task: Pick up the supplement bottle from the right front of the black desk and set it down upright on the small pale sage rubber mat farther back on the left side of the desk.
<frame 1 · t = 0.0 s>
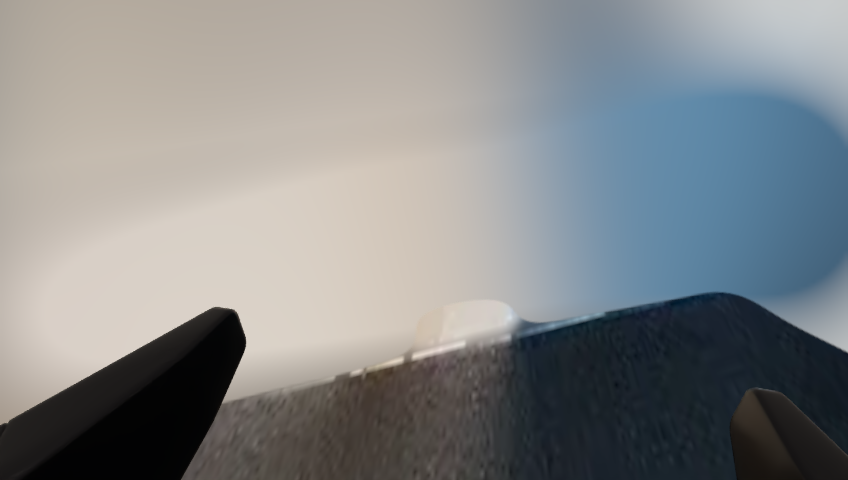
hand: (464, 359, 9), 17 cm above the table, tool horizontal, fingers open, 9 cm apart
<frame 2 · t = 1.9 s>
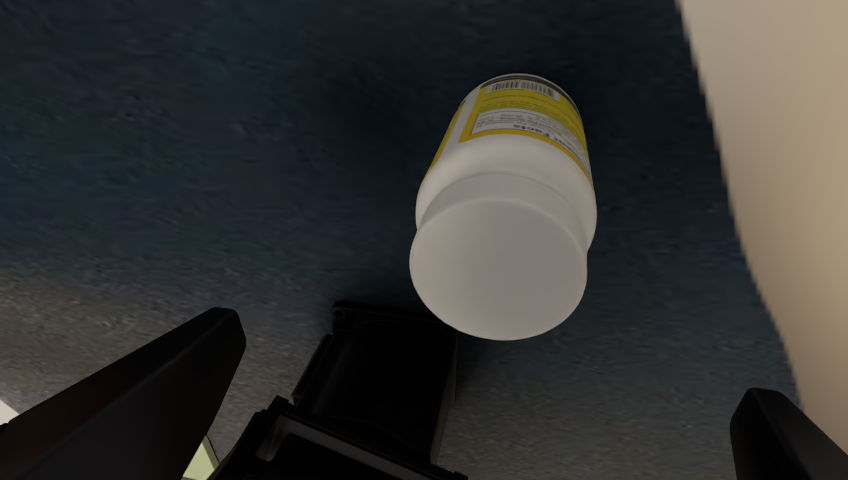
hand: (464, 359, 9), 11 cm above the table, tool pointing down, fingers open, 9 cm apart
mat: (166, 439, 37), on the table
supplement bottle: (516, 134, 18), on the table
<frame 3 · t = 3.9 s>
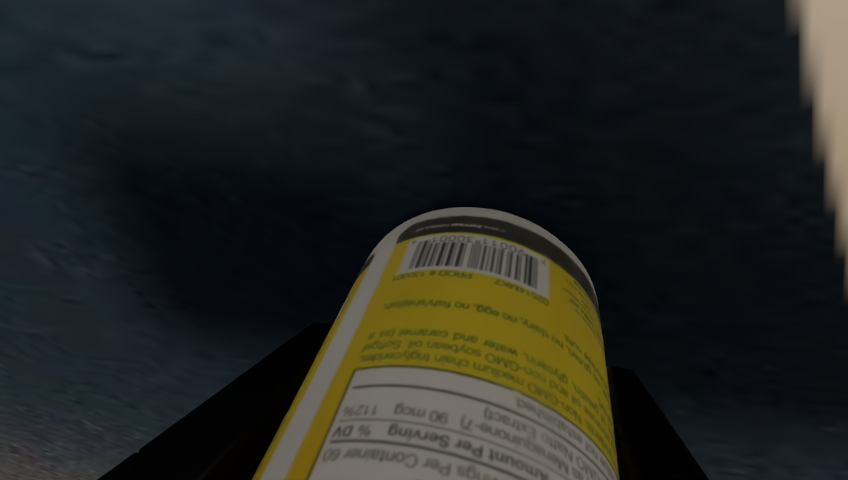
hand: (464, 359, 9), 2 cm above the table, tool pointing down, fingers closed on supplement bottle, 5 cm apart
supplement bottle: (477, 293, 10), on the table, touching gripper
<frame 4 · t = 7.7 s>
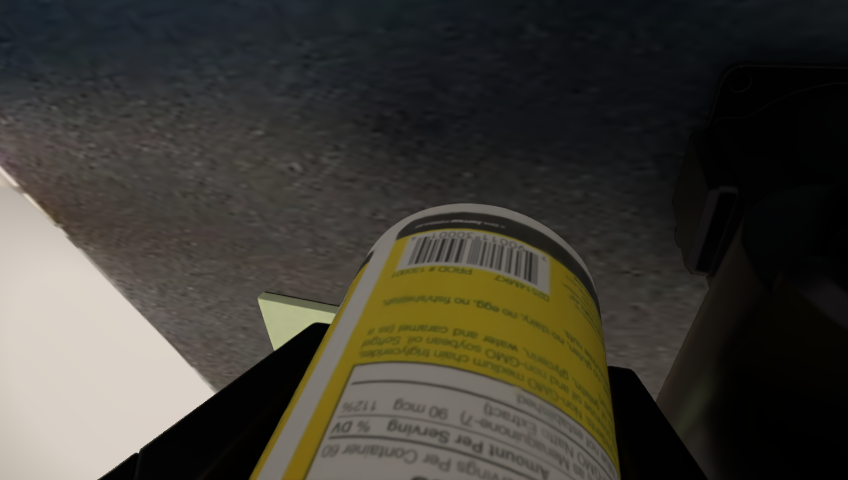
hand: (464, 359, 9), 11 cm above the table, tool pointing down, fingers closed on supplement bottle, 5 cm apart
mat: (336, 354, 28), on the table
supplement bottle: (477, 290, 10), point 9 cm above the table, touching gripper
when the fingers open (2 cm above the table, at t = 11.8 s): supplement bottle stays where it is, resting on mat.
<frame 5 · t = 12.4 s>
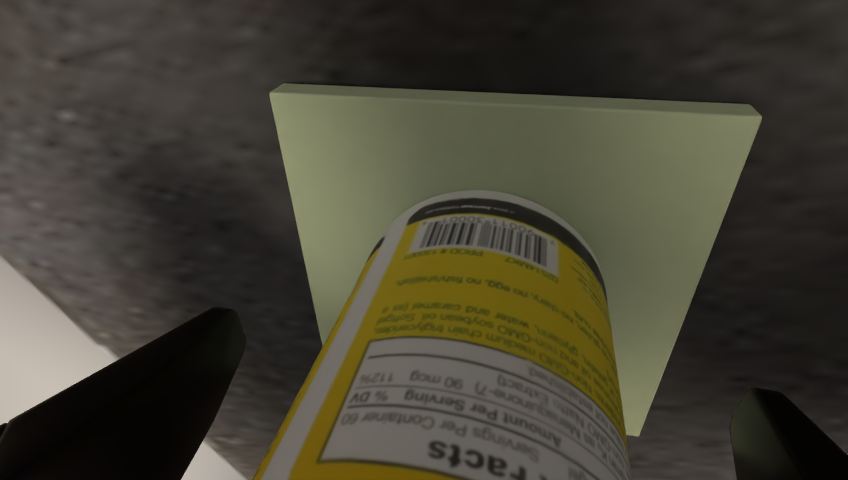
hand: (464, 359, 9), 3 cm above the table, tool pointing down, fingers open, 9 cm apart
mat: (484, 272, 11), on the table
supplement bottle: (485, 278, 10), resting on mat
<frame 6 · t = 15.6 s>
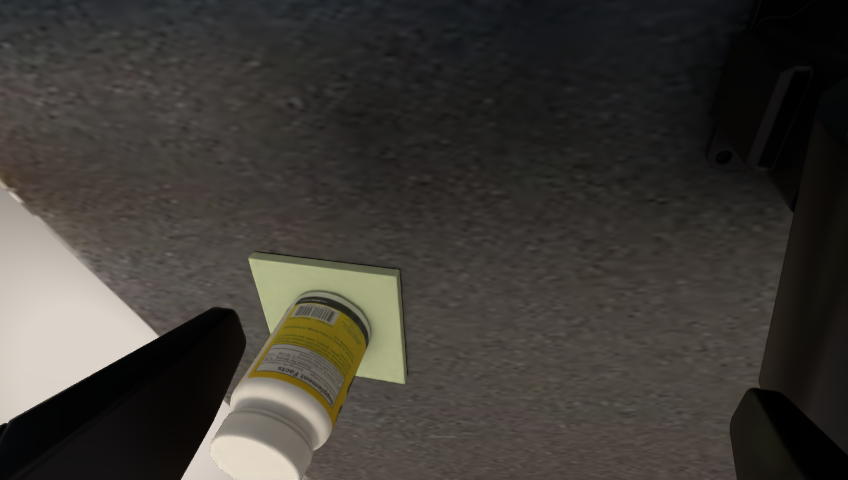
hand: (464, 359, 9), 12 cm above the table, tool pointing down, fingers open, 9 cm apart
mat: (334, 317, 27), on the table
supplement bottle: (332, 320, 26), resting on mat
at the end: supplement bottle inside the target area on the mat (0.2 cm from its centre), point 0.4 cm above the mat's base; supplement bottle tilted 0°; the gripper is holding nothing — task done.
